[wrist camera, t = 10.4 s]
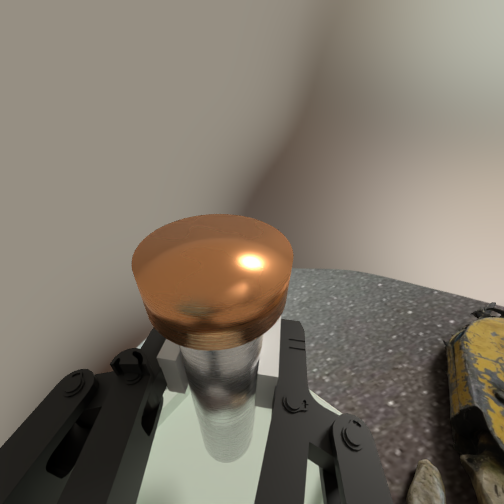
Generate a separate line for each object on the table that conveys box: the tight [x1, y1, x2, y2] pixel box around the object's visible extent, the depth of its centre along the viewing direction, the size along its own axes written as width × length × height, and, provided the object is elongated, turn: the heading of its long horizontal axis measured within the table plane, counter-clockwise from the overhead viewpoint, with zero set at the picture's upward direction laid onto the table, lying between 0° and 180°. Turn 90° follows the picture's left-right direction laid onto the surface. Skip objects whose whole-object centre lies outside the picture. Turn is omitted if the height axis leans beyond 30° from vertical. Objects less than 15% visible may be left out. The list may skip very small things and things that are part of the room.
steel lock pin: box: [132, 214, 293, 463], centre depth 10 cm, size 4×4×14 cm
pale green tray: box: [136, 384, 342, 504], centre depth 18 cm, size 15×15×3 cm
